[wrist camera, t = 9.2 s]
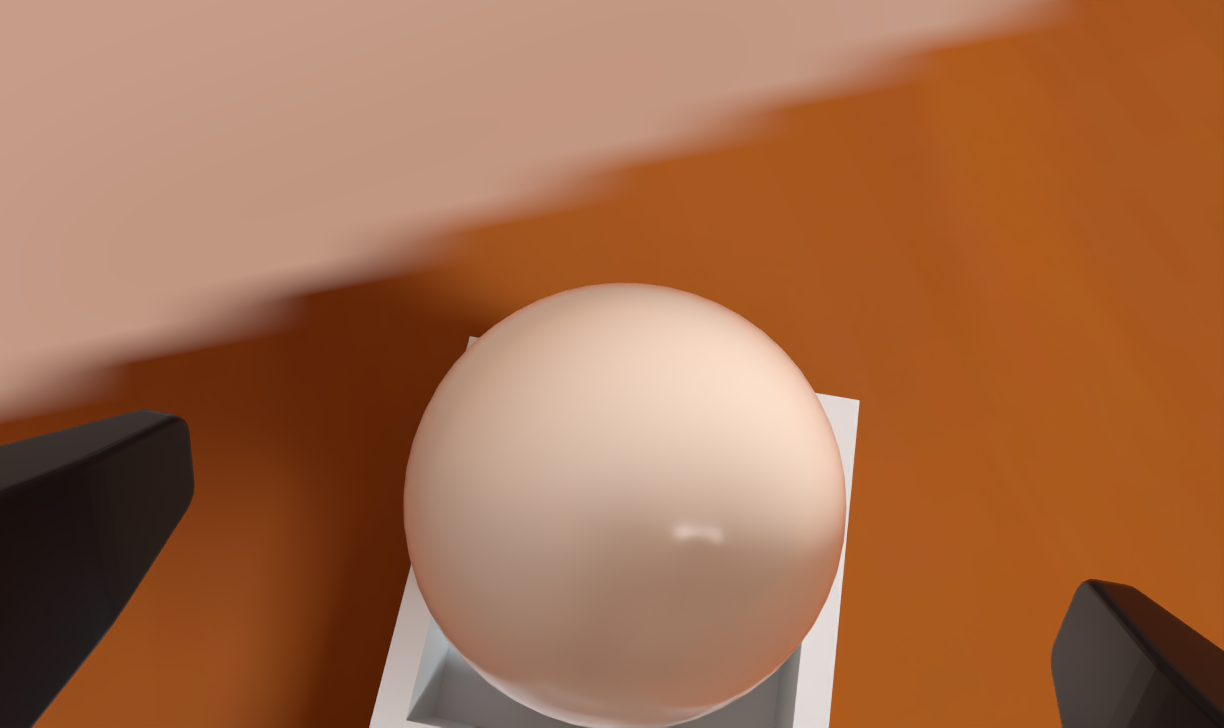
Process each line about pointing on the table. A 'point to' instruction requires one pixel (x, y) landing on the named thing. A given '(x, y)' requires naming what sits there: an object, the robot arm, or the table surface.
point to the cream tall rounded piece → (625, 506)
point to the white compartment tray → (496, 724)
